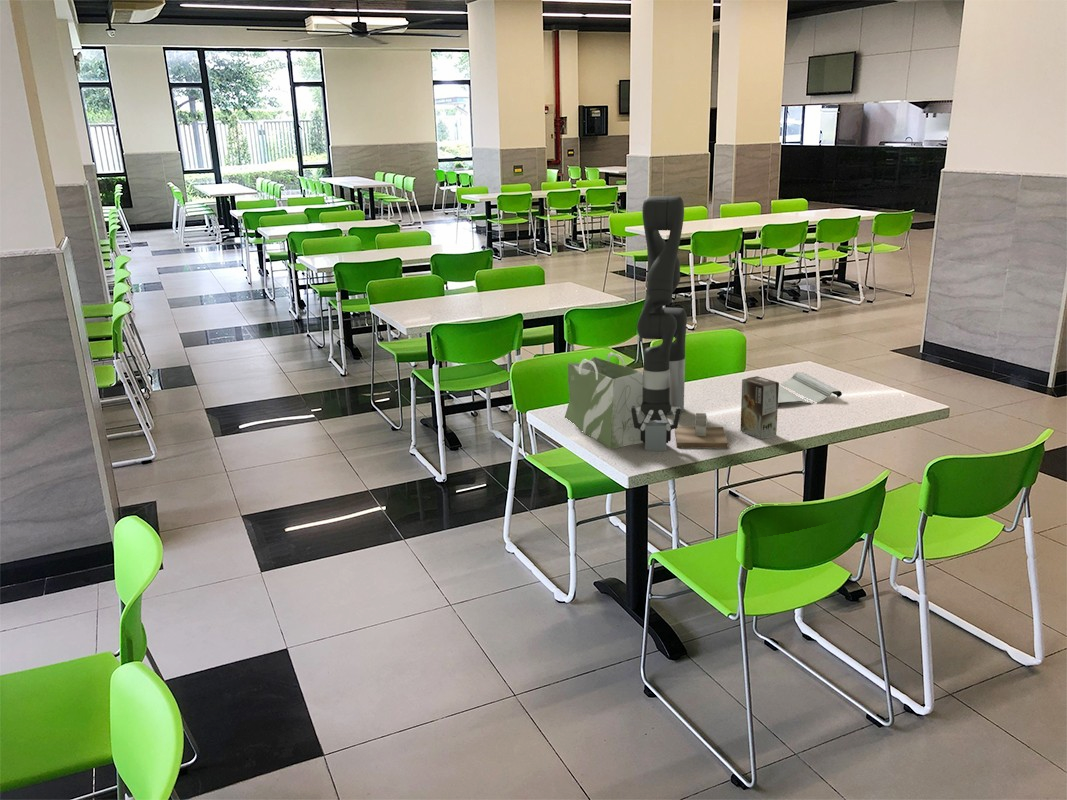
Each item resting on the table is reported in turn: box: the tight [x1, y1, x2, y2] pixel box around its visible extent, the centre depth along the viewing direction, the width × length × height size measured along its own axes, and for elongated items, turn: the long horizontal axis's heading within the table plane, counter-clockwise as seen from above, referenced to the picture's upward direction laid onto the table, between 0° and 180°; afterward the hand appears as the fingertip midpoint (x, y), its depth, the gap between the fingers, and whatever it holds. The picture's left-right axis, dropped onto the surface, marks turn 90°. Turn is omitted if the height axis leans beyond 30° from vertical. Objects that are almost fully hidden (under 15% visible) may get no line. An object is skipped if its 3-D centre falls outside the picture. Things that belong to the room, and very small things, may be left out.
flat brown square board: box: [674, 412, 729, 449], centre depth 235 cm, size 14×14×8 cm
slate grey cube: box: [644, 420, 667, 452], centre depth 230 cm, size 6×6×7 cm
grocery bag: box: [564, 352, 645, 450], centre depth 244 cm, size 32×14×23 cm, turn 23°
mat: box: [778, 371, 843, 405], centre depth 275 cm, size 23×24×5 cm
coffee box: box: [739, 375, 780, 440], centre depth 238 cm, size 9×6×16 cm
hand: (655, 441), depth 231 cm, fingers closed on slate grey cube, 5 cm apart
